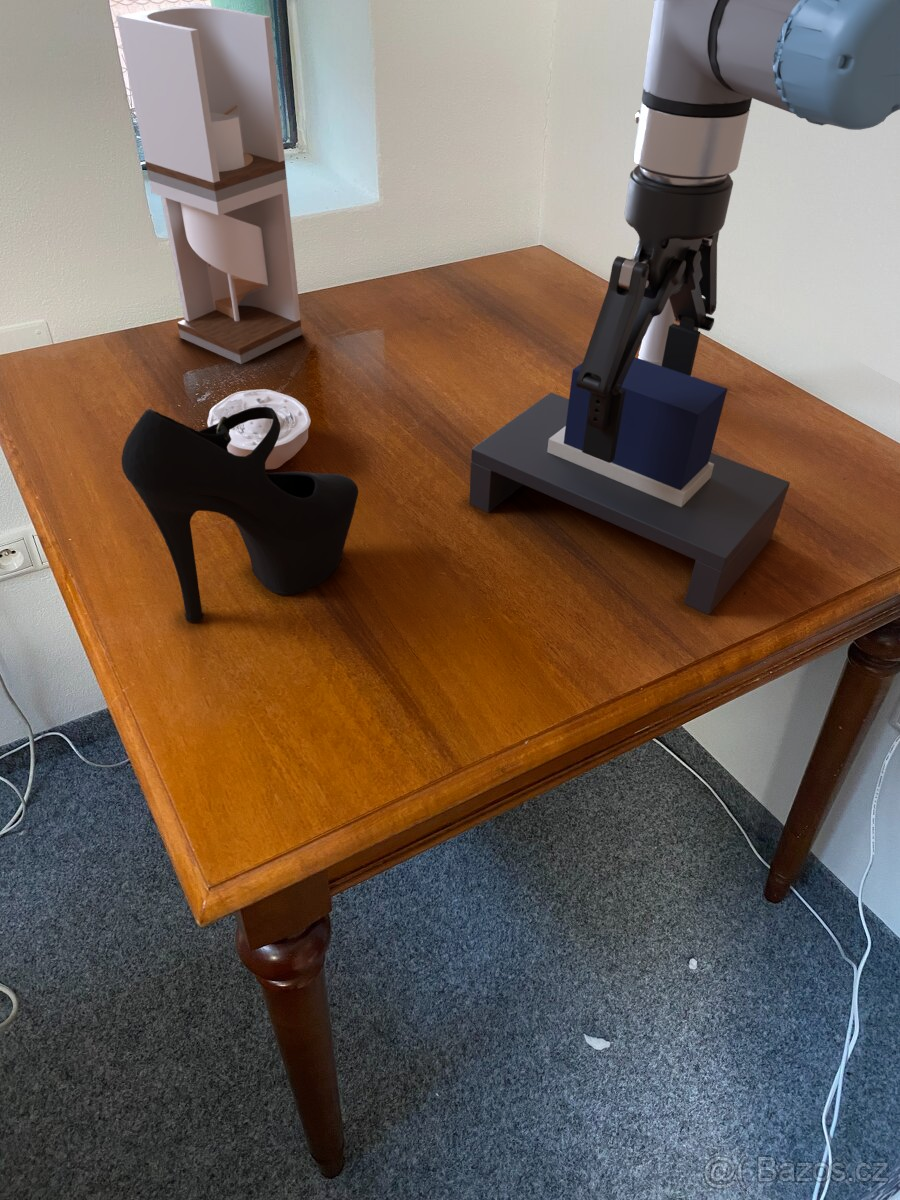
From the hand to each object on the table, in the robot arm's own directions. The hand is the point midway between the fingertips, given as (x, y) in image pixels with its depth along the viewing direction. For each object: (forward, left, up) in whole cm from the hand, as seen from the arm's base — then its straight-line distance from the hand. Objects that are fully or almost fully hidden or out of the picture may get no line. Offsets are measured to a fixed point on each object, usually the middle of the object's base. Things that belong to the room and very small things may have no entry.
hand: (636, 424), depth 78 cm
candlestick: (+10, -25, -11) cm, 29 cm away
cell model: (+35, +14, -11) cm, 39 cm away
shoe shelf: (0, 0, -11) cm, 11 cm away
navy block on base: (0, 0, -4) cm, 4 cm away
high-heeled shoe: (+20, +28, -11) cm, 36 cm away
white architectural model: (+58, -4, -11) cm, 59 cm away
